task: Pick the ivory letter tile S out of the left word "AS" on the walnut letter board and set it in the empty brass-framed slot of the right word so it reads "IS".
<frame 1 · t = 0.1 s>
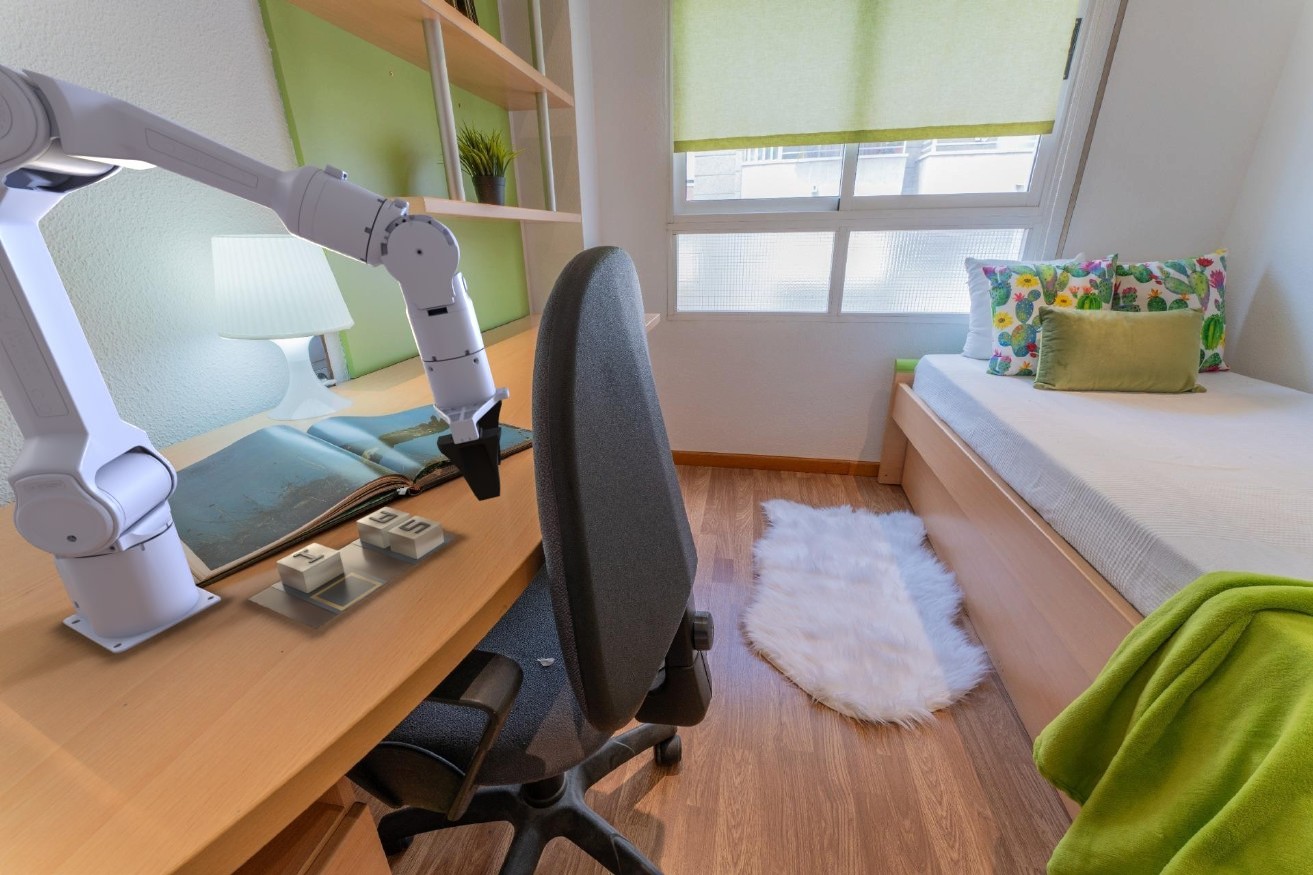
hand: (490, 480, 54), 10 cm above the table, tool pointing down, fingers open, 7 cm apart
tile i: (313, 577, 54), resting on letter board
letter board: (365, 566, 57), on the table
tile s: (418, 546, 60), resting on letter board
paper: (436, 477, 79), on the table
tile a: (386, 536, 62), resting on letter board
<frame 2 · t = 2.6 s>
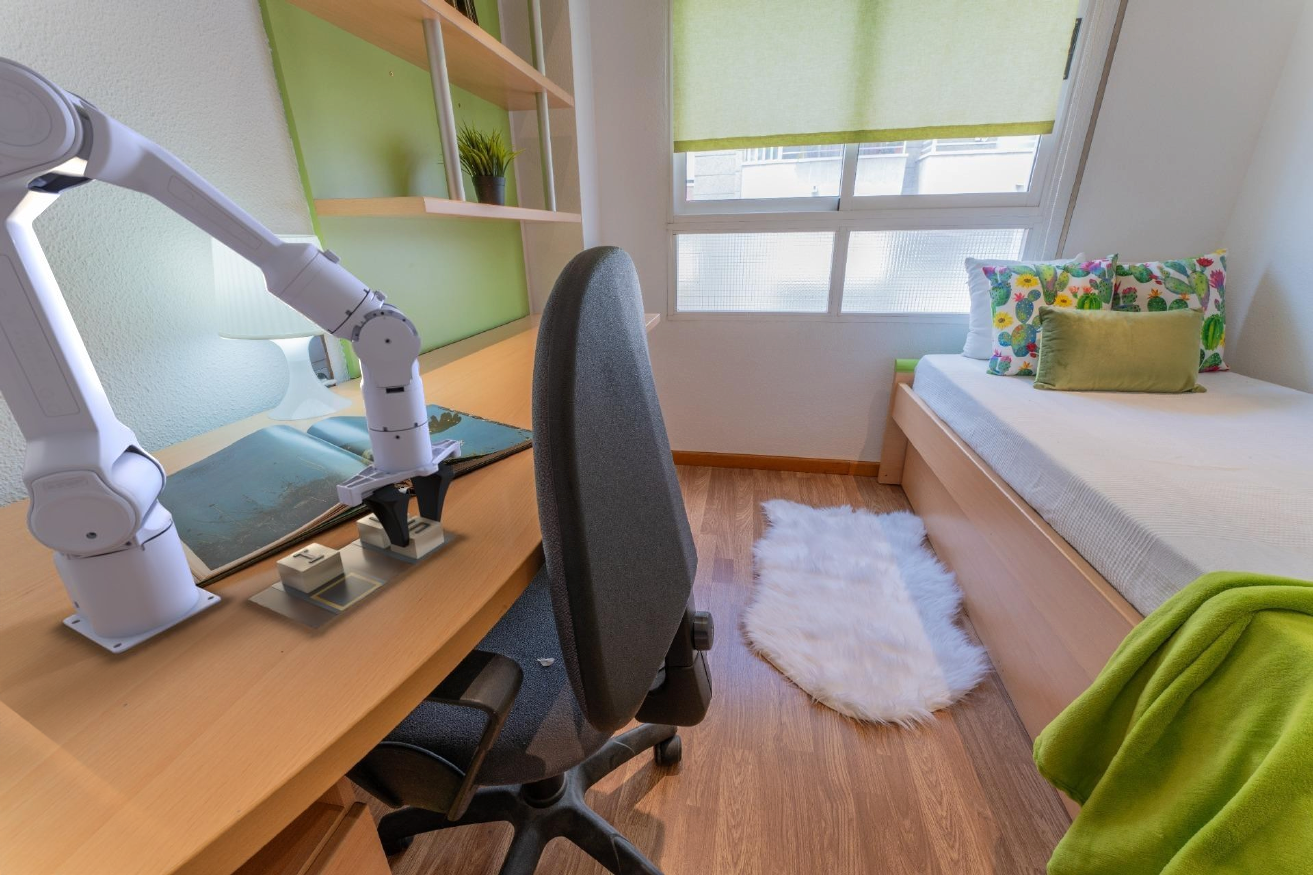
hand: (416, 534, 59), 2 cm above the table, tool pointing down, fingers closed on tile s, 4 cm apart
tile s: (418, 546, 60), resting on letter board, touching gripper
everything else where it was.
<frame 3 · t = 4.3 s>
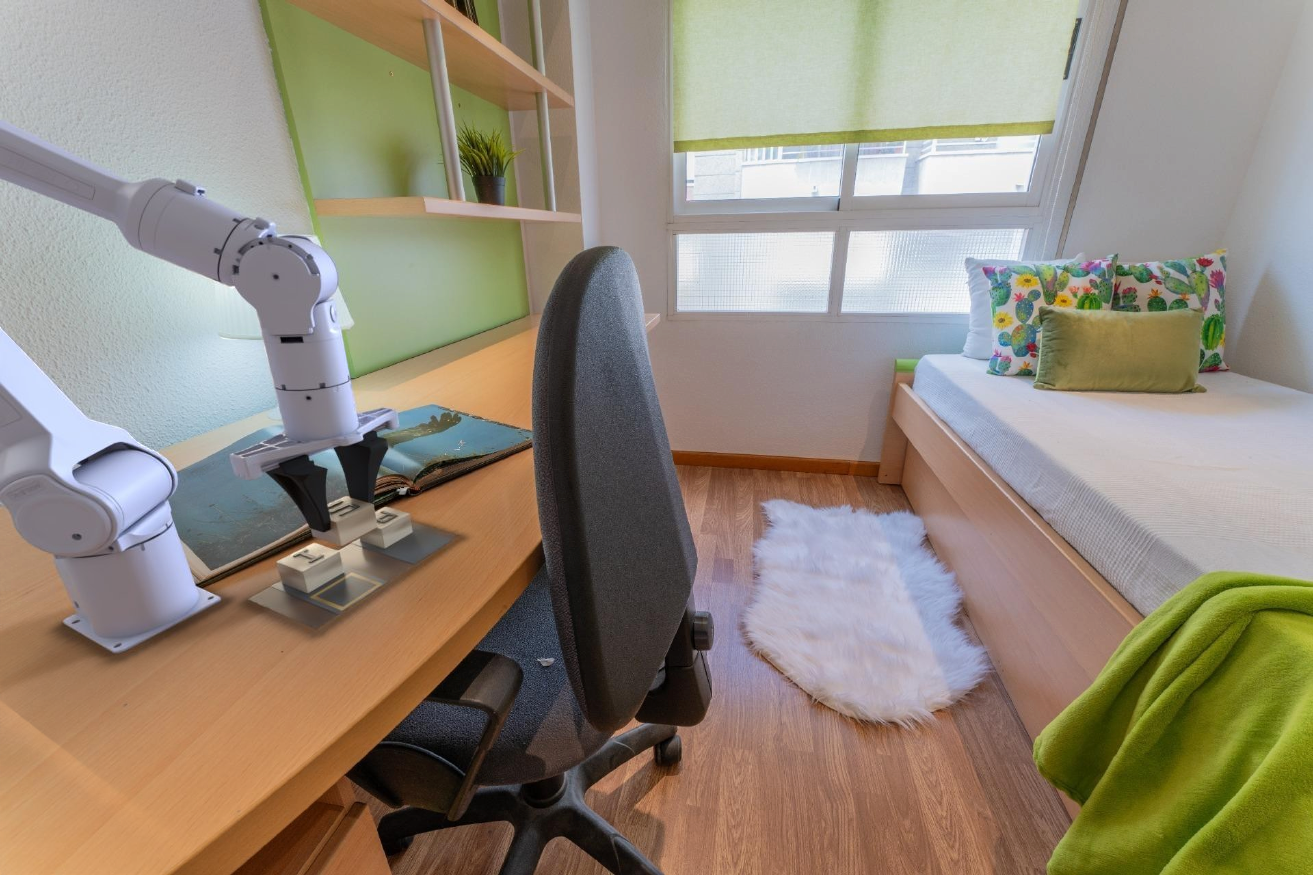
hand: (342, 518, 50), 8 cm above the table, tool pointing down, fingers closed on tile s, 4 cm apart
tile s: (345, 531, 51), point 7 cm above the table, touching gripper
everything else where it was.
when the fingers open (2 cm above the table, at t = 6.2 s): tile s stays where it is, resting on letter board.
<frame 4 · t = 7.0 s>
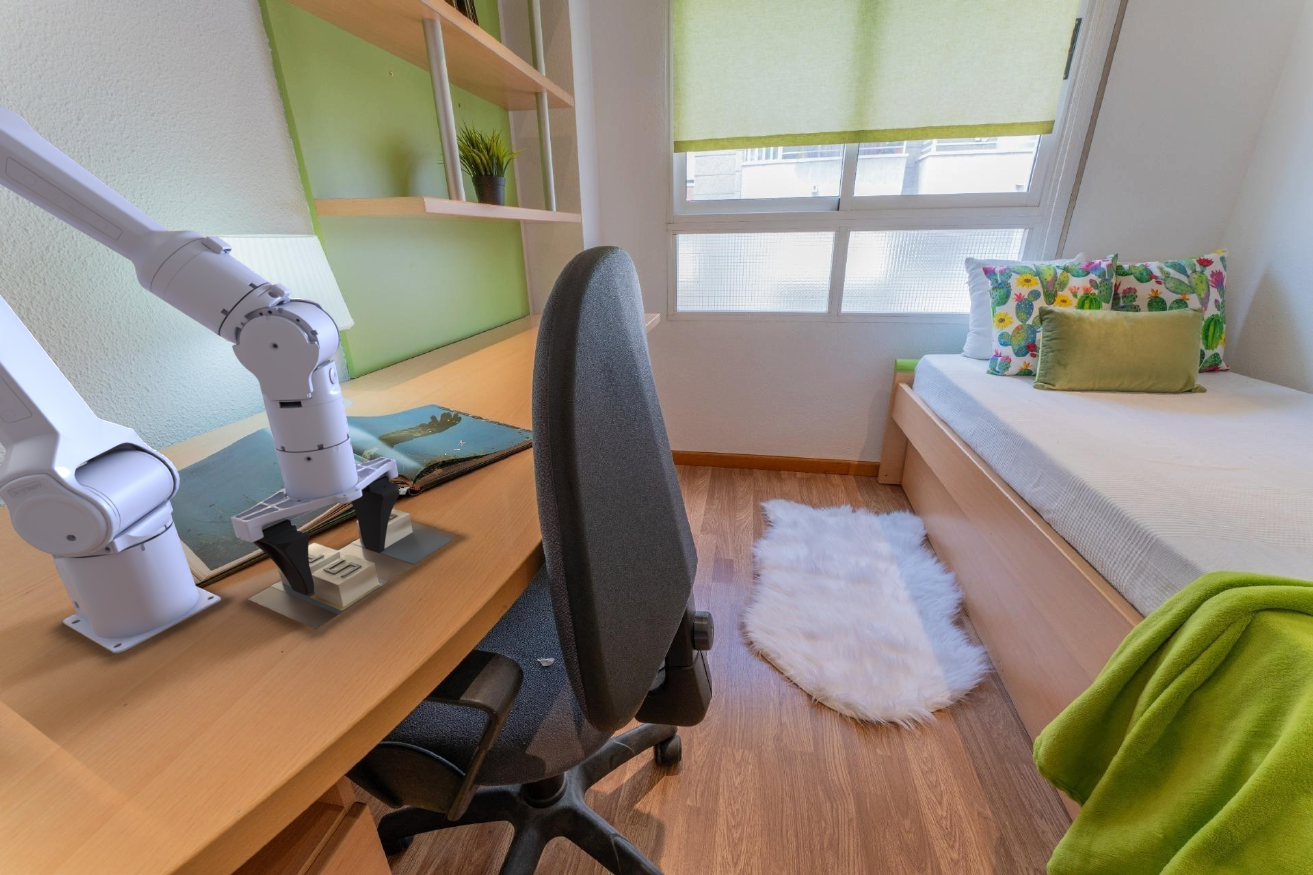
hand: (341, 568, 51), 3 cm above the table, tool pointing down, fingers open, 7 cm apart
tile s: (347, 590, 52), resting on letter board
everything else where it was.
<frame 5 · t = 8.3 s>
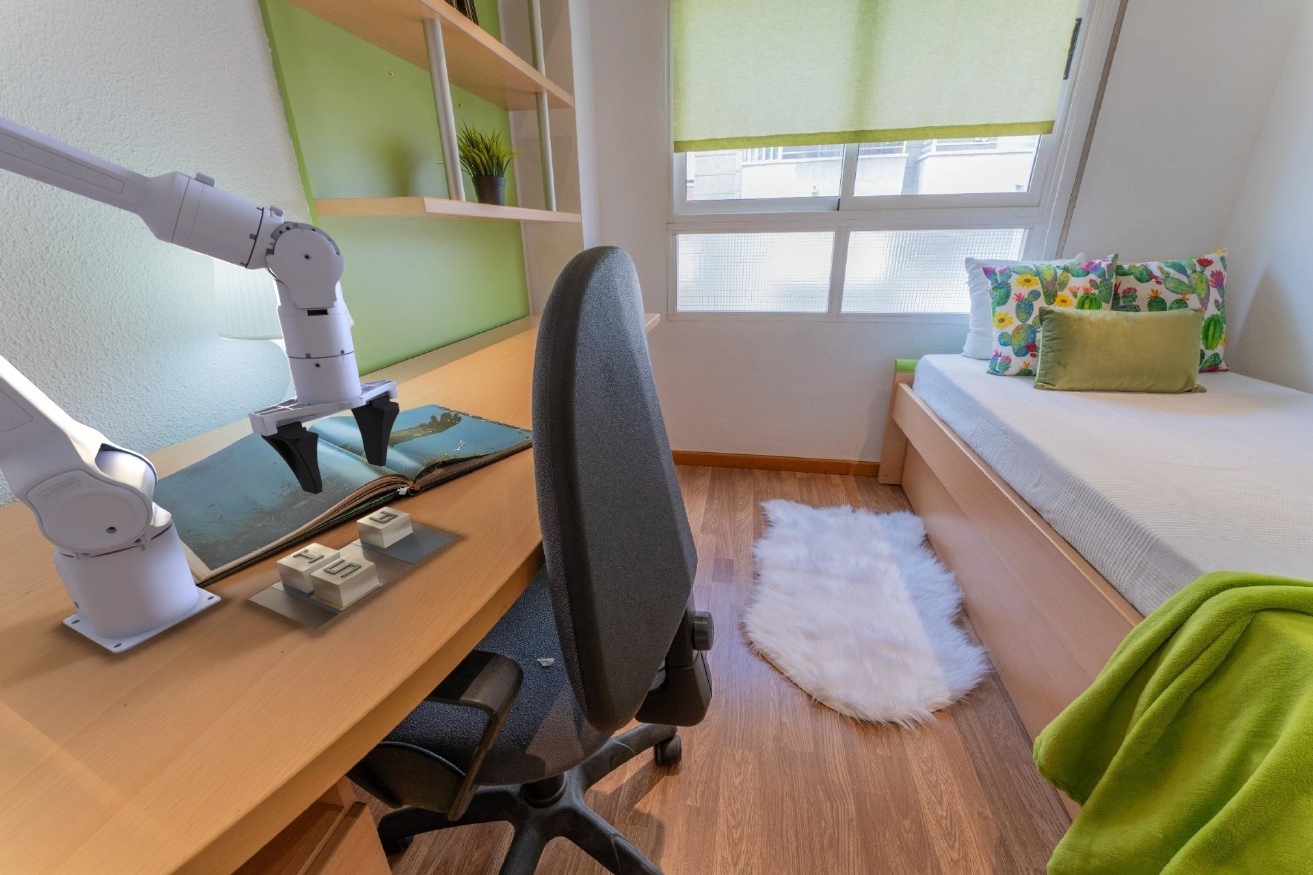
hand: (346, 477, 56), 9 cm above the table, tool pointing down, fingers open, 7 cm apart
nothing on the table moved.
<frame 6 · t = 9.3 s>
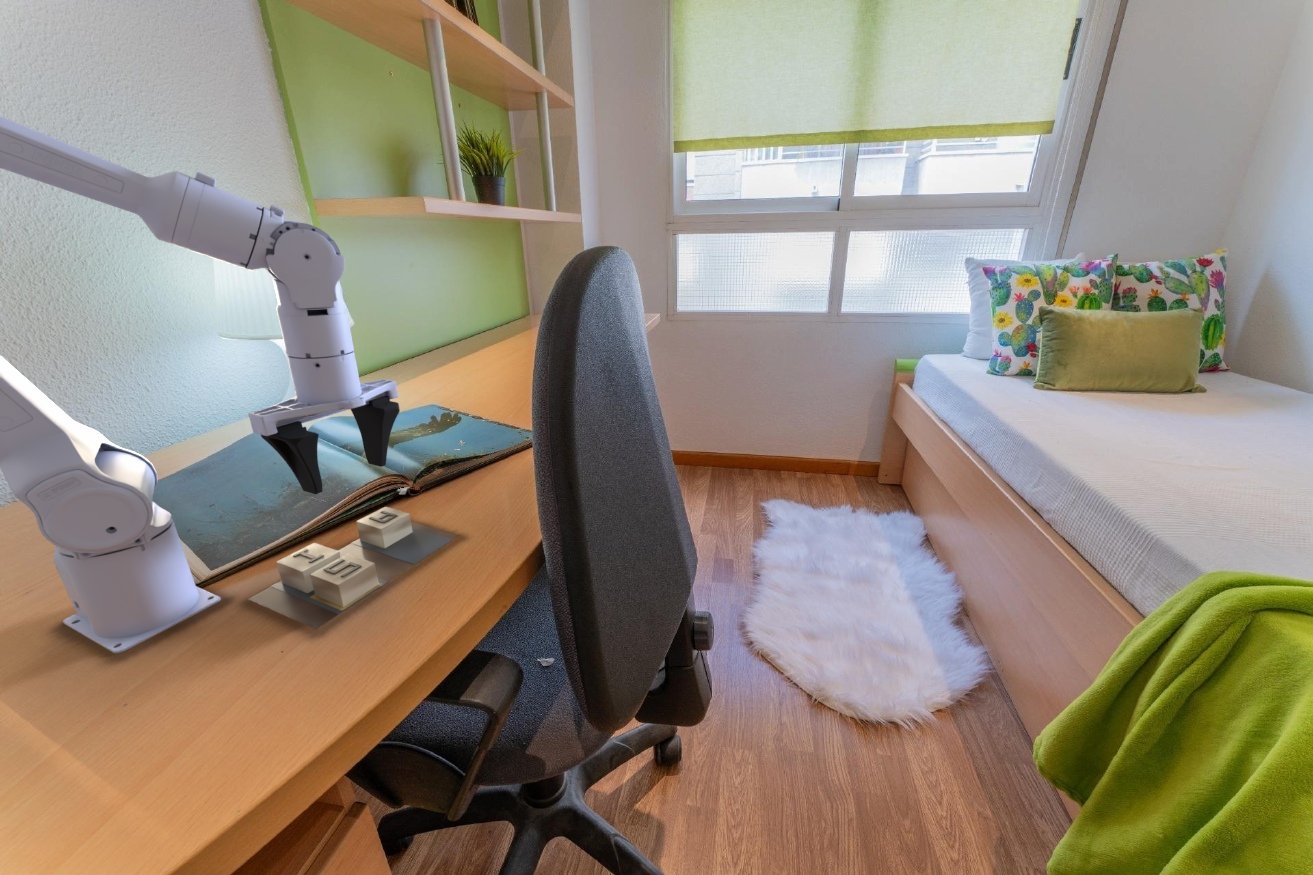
hand: (346, 477, 56), 9 cm above the table, tool pointing down, fingers open, 7 cm apart
nothing on the table moved.
at the end: tile s 0.0 cm from the target spot, point 0.5 cm above the table; tile s tilted 0°; tile a moved 0.0 cm from its start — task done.
